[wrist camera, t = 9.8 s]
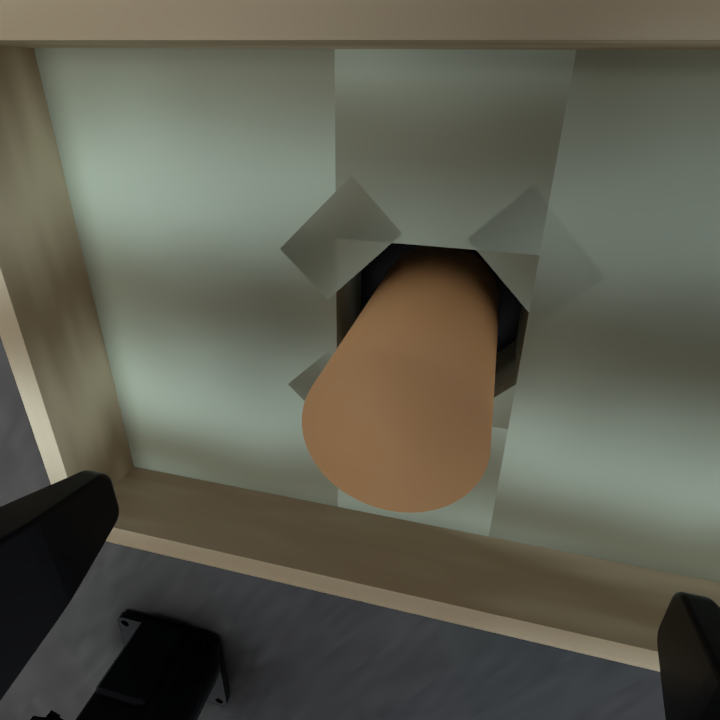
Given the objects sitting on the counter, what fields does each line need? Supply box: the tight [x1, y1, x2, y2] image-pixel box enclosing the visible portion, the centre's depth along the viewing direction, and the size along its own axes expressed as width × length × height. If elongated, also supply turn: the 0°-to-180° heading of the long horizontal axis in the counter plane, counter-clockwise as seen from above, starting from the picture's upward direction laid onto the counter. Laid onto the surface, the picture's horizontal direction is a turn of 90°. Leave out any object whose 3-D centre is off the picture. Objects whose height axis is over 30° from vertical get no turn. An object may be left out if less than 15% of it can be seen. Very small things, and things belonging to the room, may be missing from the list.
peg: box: [302, 246, 500, 513], centre depth 14 cm, size 4×4×8 cm
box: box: [0, 0, 720, 672], centre depth 15 cm, size 16×24×6 cm, turn 90°
